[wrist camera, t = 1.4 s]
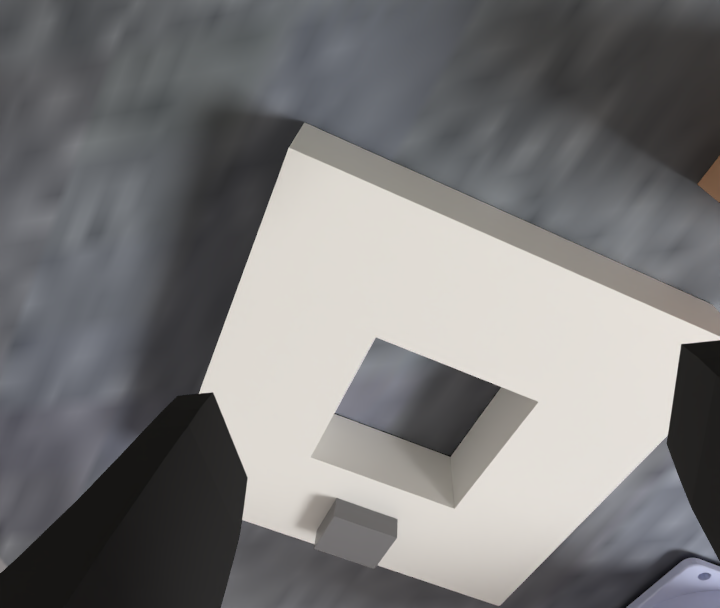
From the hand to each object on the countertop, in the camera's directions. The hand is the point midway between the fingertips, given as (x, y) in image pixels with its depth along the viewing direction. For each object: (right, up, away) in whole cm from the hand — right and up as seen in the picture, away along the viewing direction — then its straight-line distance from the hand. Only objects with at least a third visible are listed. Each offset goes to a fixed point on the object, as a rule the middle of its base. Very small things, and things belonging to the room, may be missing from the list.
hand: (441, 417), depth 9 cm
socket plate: (+1, -1, +12) cm, 12 cm away
